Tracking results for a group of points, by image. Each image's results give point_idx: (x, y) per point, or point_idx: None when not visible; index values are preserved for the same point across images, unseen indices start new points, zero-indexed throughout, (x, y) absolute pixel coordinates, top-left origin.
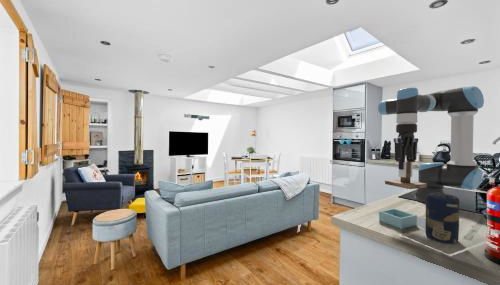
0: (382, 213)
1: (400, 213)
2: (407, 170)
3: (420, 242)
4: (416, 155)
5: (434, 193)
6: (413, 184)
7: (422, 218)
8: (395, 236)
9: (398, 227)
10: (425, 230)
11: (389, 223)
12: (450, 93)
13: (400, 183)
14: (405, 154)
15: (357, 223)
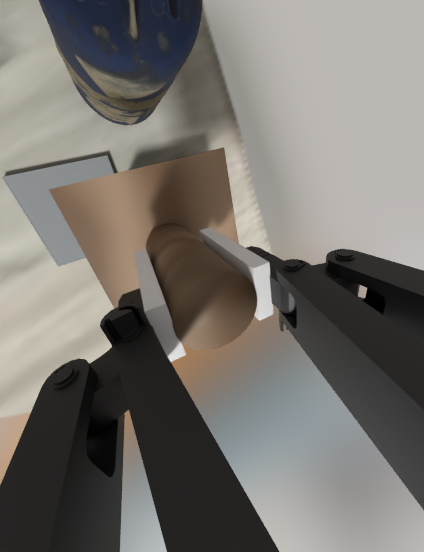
0: None
1: None
2: (203, 246)
3: (195, 86)
4: (16, 453)
5: (136, 26)
6: (177, 177)
7: (49, 238)
8: (228, 141)
9: None
10: (152, 112)
11: None
12: None
13: (228, 213)
14: (339, 318)
15: (255, 230)
